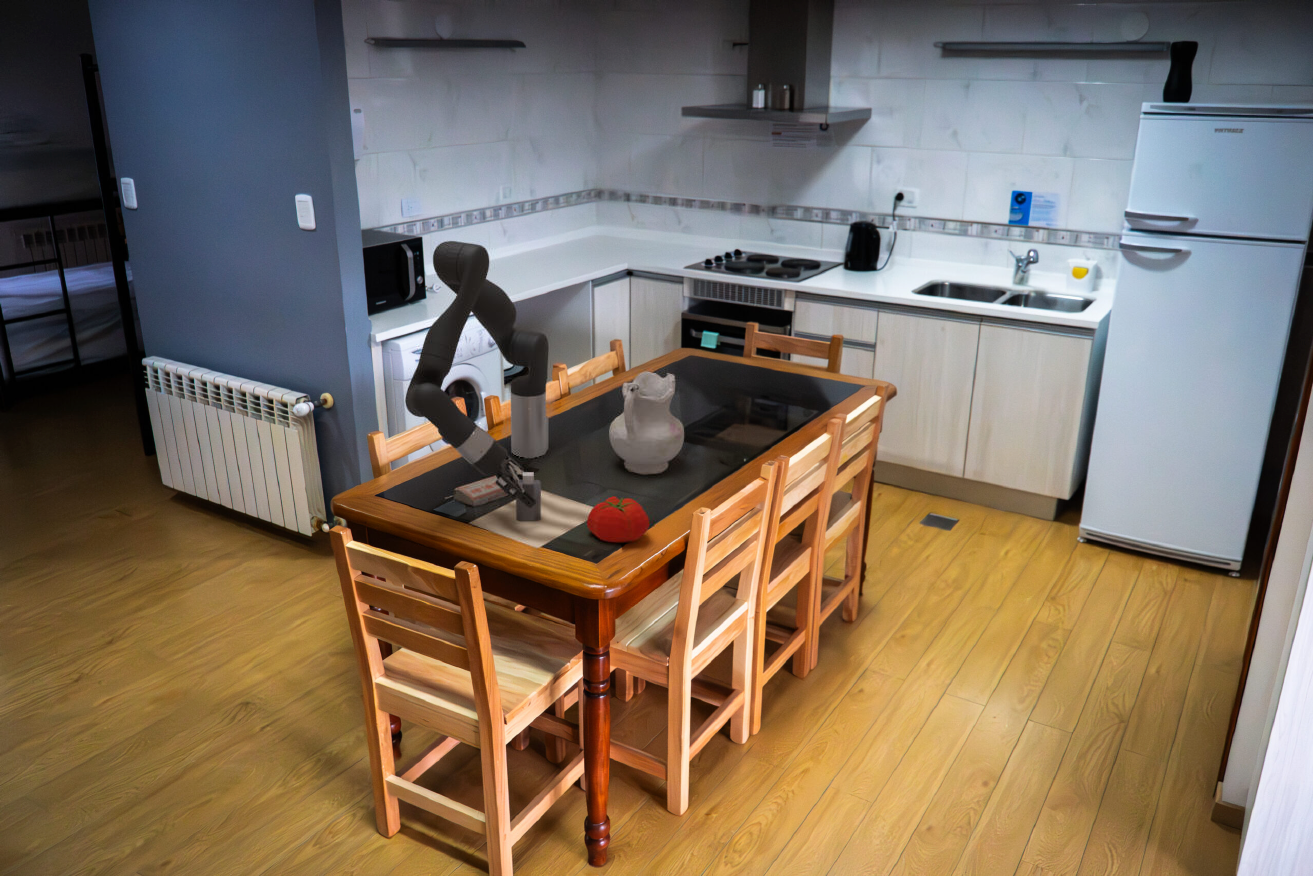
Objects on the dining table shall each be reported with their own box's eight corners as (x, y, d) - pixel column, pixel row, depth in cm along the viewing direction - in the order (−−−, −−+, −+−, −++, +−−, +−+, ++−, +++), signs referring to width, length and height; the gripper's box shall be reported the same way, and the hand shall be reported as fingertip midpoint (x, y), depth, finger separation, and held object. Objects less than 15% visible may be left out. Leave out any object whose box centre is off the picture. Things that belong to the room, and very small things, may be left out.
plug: (516, 515, 230) (515, 471, 226) (540, 515, 230) (540, 471, 226) (516, 521, 227) (515, 476, 223) (541, 521, 227) (540, 476, 223)
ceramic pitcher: (670, 491, 251) (682, 398, 242) (595, 477, 254) (604, 384, 245) (685, 460, 271) (697, 373, 262) (615, 447, 274) (624, 360, 265)
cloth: (537, 493, 244) (537, 488, 244) (604, 515, 234) (604, 510, 234) (468, 527, 226) (468, 523, 225) (537, 553, 215) (537, 548, 215)
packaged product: (504, 466, 248) (530, 478, 242) (504, 484, 250) (530, 497, 243) (443, 485, 236) (468, 499, 229) (444, 504, 238) (469, 518, 231)
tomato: (648, 525, 230) (649, 490, 227) (649, 550, 219) (650, 514, 216) (587, 523, 230) (588, 488, 227) (585, 549, 218) (586, 512, 215)
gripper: (491, 450, 214) (545, 499, 219) (494, 427, 227) (545, 473, 233) (467, 473, 215) (521, 521, 221) (471, 449, 228) (522, 494, 234)
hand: (533, 496), depth 227 cm, fingers open, 8 cm apart
